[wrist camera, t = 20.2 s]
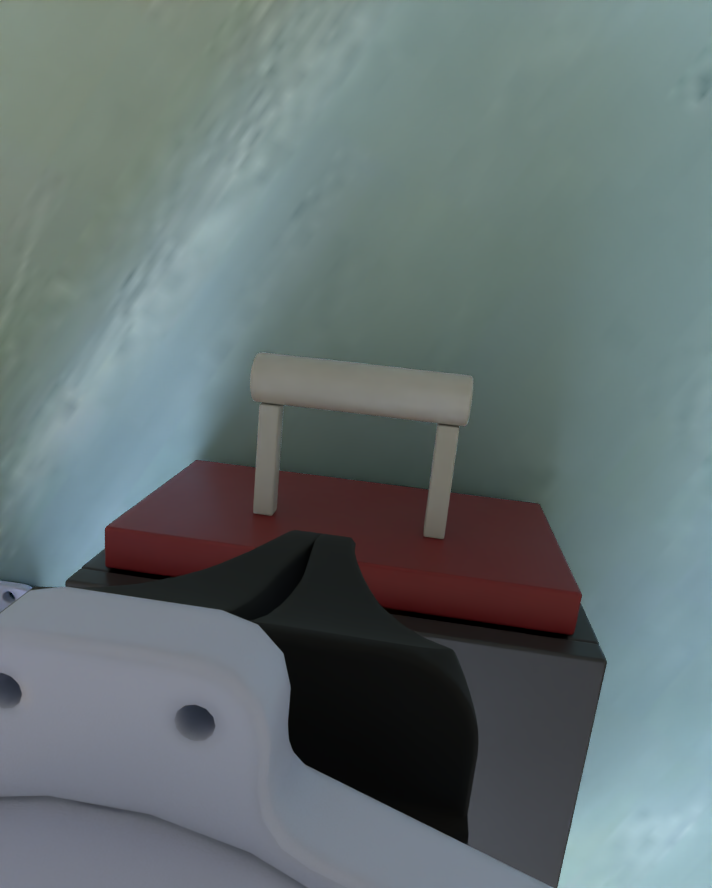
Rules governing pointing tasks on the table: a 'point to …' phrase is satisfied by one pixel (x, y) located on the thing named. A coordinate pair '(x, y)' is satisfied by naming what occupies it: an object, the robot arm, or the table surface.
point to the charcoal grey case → (503, 726)
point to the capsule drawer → (362, 508)
